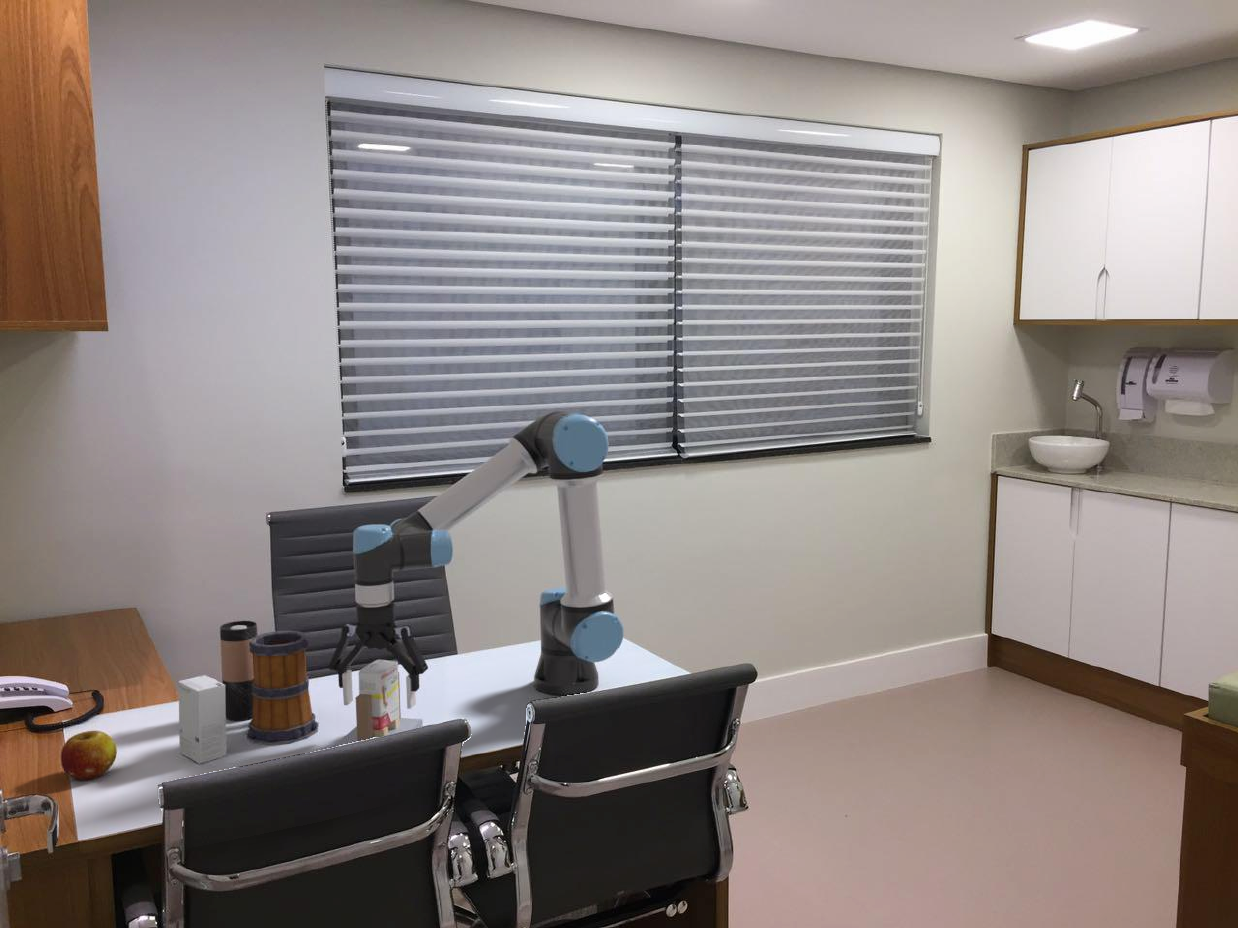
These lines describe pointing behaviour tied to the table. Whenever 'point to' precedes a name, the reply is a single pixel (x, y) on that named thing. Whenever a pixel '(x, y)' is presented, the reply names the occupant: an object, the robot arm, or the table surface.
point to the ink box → (381, 691)
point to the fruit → (88, 755)
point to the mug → (280, 689)
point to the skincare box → (202, 718)
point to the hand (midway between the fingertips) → (379, 704)
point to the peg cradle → (366, 726)
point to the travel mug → (238, 668)
